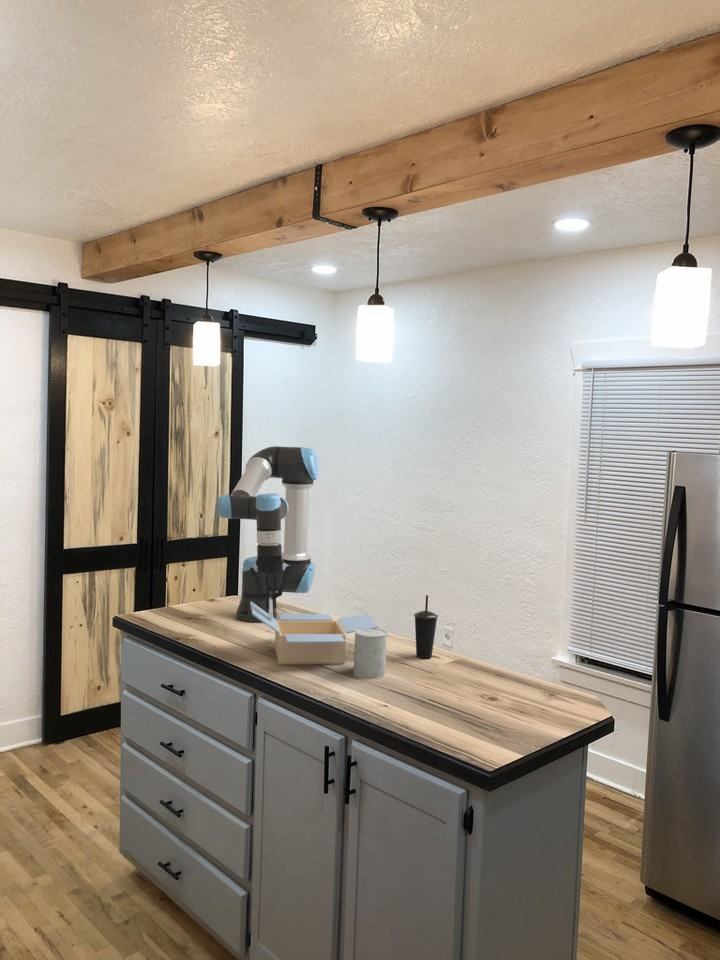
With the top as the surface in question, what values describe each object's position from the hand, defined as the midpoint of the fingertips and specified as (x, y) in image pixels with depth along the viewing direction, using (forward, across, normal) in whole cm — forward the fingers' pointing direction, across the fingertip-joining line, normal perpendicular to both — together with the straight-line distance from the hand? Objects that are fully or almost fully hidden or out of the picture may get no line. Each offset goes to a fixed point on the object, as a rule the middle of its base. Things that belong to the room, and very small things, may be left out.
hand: (271, 619), depth 237 cm
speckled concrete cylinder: (+14, +27, -19) cm, 36 cm away
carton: (+13, +11, 0) cm, 17 cm away
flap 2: (+3, +27, -1) cm, 27 cm away
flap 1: (-1, -2, 0) cm, 2 cm away
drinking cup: (+15, +48, -3) cm, 51 cm away
